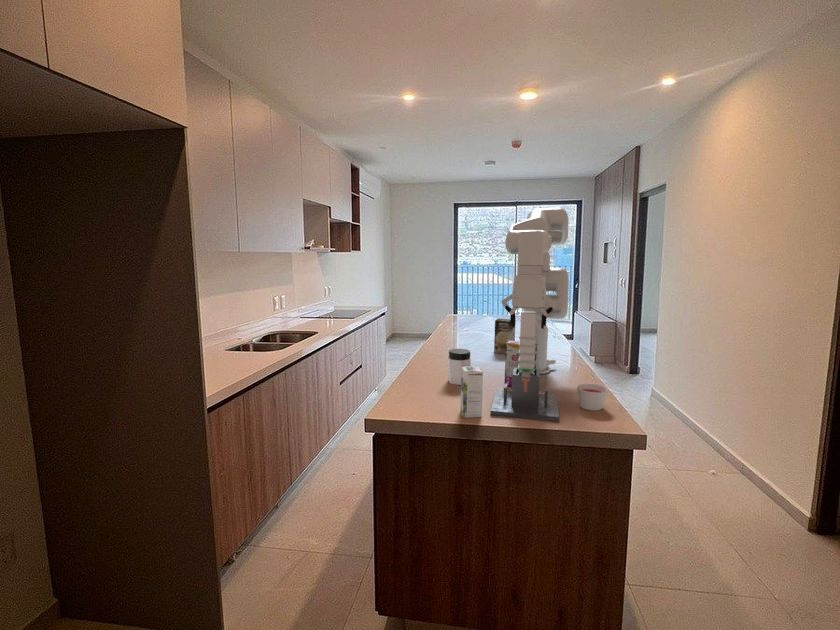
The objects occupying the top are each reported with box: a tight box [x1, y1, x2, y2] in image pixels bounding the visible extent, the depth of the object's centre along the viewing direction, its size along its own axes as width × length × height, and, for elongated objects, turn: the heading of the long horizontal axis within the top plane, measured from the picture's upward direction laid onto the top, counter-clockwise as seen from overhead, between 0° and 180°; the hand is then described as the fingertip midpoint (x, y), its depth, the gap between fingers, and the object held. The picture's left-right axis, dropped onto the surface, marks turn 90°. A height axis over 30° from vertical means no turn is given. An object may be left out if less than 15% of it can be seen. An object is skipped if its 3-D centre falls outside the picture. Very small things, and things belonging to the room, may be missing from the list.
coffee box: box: [493, 318, 517, 355], centre depth 209 cm, size 9×6×16 cm
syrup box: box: [460, 365, 484, 419], centre depth 132 cm, size 6×6×14 cm
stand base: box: [490, 368, 560, 423], centre depth 138 cm, size 20×20×13 cm
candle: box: [576, 383, 608, 411], centre depth 138 cm, size 9×9×6 cm
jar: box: [447, 348, 472, 386], centre depth 164 cm, size 9×8×12 cm
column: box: [518, 310, 536, 375], centre depth 136 cm, size 5×5×22 cm
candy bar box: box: [504, 340, 538, 387], centre depth 159 cm, size 11×5×16 cm, turn 71°
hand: (527, 327), depth 135 cm, fingers open, 8 cm apart
